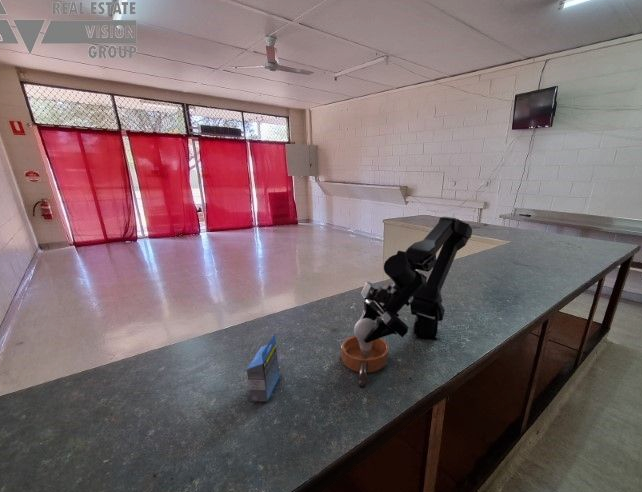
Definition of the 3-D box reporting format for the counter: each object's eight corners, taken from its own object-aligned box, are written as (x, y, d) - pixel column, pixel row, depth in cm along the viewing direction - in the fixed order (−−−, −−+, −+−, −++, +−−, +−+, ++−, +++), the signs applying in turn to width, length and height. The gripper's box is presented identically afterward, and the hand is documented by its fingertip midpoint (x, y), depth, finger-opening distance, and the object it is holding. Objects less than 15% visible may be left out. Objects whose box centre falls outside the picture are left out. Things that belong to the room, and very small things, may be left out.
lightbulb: (380, 352, 85) (381, 316, 81) (373, 365, 80) (374, 327, 76) (358, 348, 87) (359, 312, 83) (350, 360, 82) (350, 322, 78)
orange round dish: (387, 348, 89) (388, 335, 88) (388, 374, 78) (389, 361, 76) (344, 346, 89) (344, 333, 88) (339, 372, 78) (339, 359, 77)
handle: (367, 366, 77) (367, 359, 77) (366, 390, 69) (366, 383, 68) (360, 365, 77) (360, 359, 77) (357, 390, 69) (358, 383, 68)
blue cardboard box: (264, 375, 76) (259, 330, 72) (280, 376, 76) (276, 331, 72) (250, 401, 68) (243, 352, 63) (268, 402, 68) (262, 353, 63)
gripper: (368, 260, 84) (329, 303, 85) (398, 284, 68) (350, 337, 68) (394, 284, 90) (357, 325, 90) (427, 312, 73) (382, 361, 74)
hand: (360, 335), depth 81 cm, fingers closed on lightbulb, 6 cm apart
